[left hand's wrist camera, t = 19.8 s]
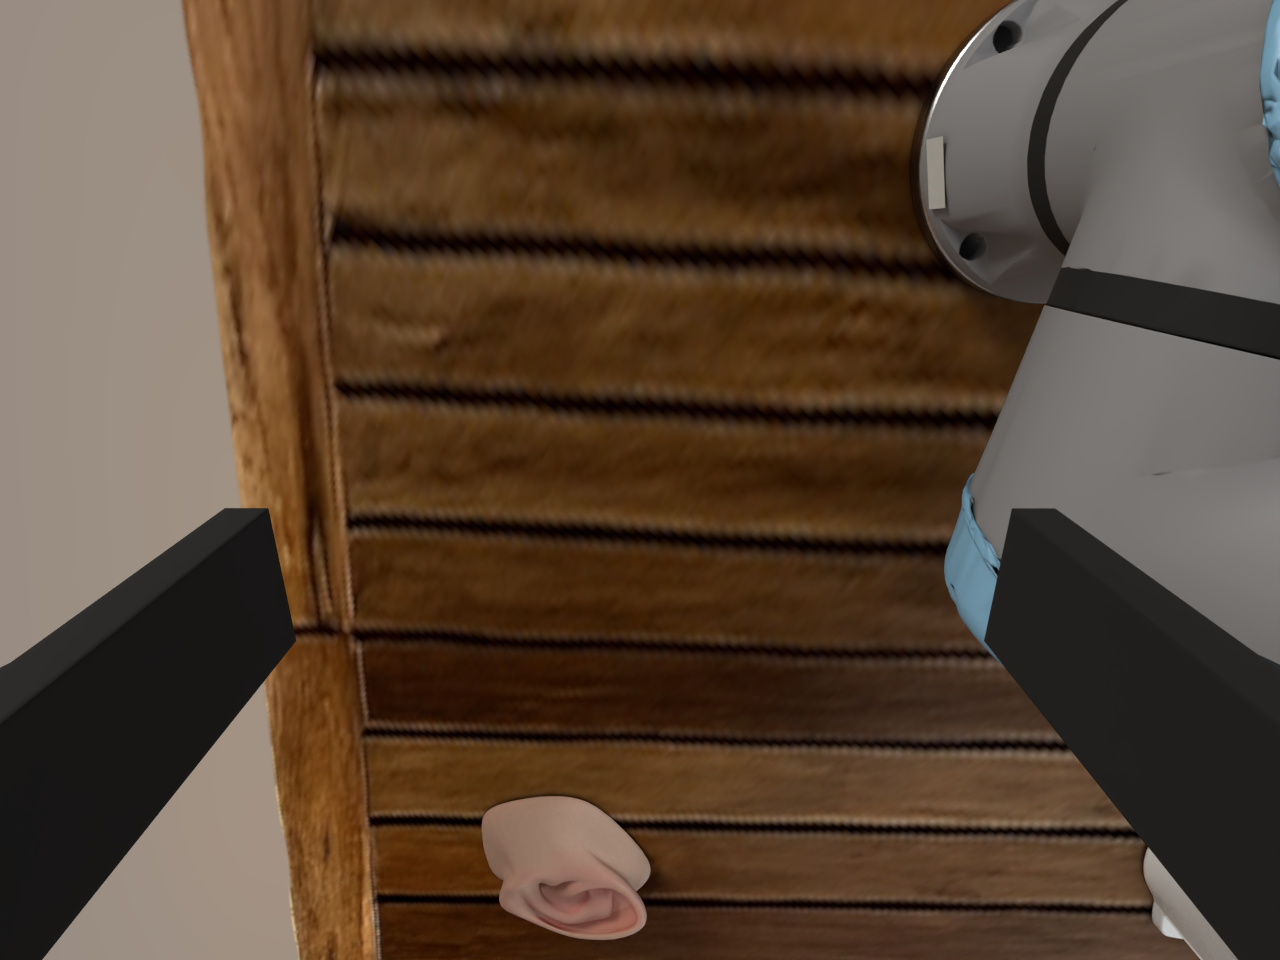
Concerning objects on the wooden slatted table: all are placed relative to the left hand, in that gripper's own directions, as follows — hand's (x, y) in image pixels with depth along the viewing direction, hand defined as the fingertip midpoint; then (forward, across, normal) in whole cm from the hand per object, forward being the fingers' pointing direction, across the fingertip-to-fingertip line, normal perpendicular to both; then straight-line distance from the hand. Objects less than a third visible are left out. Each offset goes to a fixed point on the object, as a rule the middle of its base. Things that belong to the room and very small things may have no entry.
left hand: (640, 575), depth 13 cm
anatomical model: (+30, -6, -41) cm, 51 cm away
